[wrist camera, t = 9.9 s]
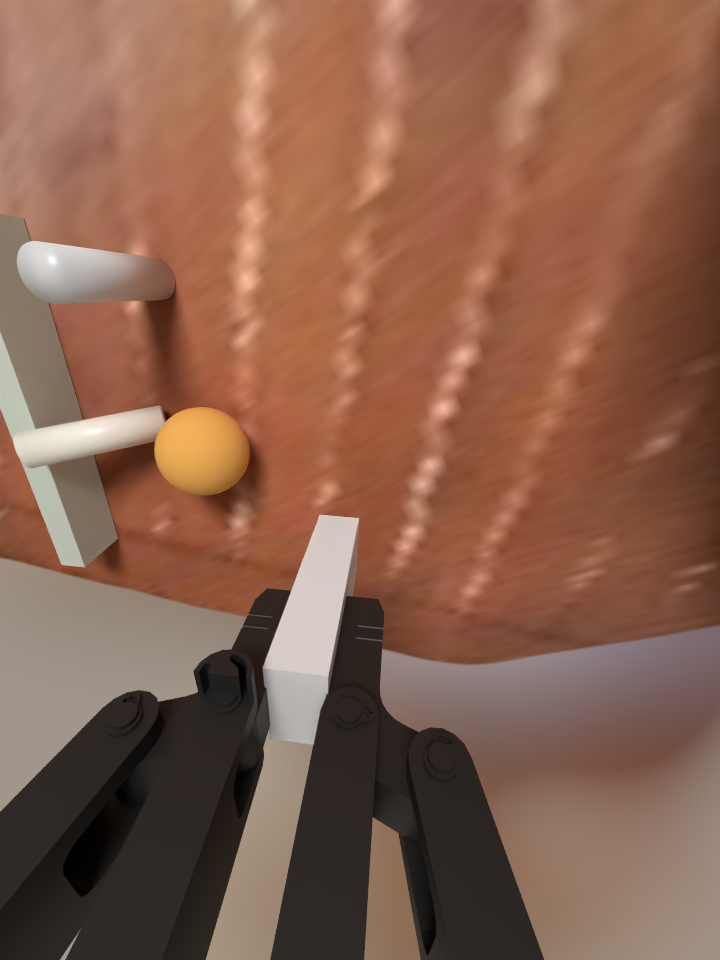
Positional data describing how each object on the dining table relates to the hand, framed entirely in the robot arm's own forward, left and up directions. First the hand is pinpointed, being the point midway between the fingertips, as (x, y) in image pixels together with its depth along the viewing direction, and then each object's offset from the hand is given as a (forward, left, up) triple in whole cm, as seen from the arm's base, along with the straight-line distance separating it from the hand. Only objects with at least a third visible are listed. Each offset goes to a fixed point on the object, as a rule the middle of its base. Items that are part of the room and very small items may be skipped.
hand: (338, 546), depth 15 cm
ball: (+1, -11, -11) cm, 15 cm away
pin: (0, -15, -13) cm, 19 cm away
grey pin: (-9, -14, -14) cm, 22 cm away
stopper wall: (0, -23, -14) cm, 27 cm away
